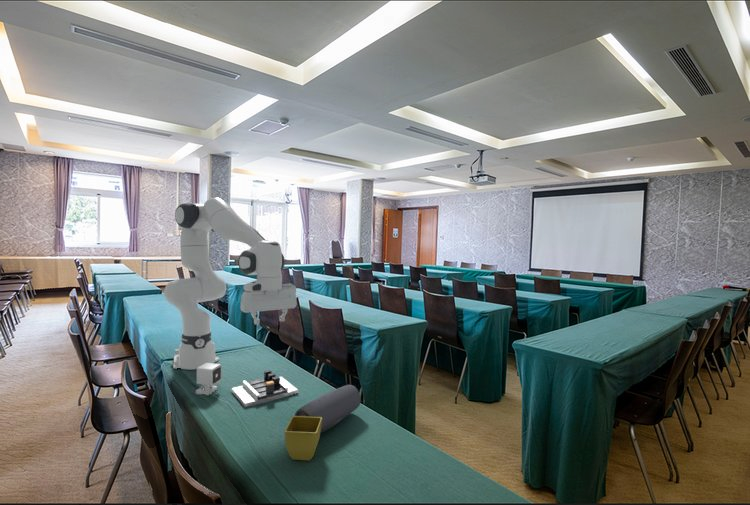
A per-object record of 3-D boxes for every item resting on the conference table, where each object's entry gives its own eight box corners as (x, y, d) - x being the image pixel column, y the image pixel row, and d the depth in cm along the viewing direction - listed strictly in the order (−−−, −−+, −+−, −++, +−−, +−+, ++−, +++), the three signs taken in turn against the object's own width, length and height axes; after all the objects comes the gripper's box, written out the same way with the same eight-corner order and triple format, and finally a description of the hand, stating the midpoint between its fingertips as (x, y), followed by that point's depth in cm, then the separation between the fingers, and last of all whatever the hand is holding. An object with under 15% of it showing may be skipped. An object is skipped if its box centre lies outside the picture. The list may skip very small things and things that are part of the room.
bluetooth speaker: (340, 407, 134) (341, 379, 133) (361, 415, 128) (362, 386, 128) (291, 435, 115) (292, 403, 115) (314, 446, 110) (314, 412, 109)
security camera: (211, 396, 139) (211, 369, 138) (194, 394, 140) (194, 367, 140) (221, 389, 145) (221, 363, 145) (205, 387, 147) (205, 361, 146)
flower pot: (291, 445, 110) (292, 415, 109) (321, 446, 110) (322, 416, 109) (283, 464, 101) (284, 431, 100) (316, 465, 101) (316, 433, 100)
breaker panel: (231, 391, 143) (231, 377, 143) (281, 380, 155) (281, 366, 155) (245, 407, 131) (245, 391, 131) (298, 393, 144) (298, 378, 143)
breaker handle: (265, 391, 138) (265, 382, 138) (272, 390, 140) (272, 380, 139) (267, 393, 137) (267, 383, 136) (274, 391, 138) (274, 382, 138)
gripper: (292, 282, 148) (292, 318, 148) (238, 285, 135) (239, 324, 135) (299, 283, 142) (299, 320, 143) (244, 286, 130) (244, 327, 130)
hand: (269, 322), depth 139 cm, fingers open, 8 cm apart
